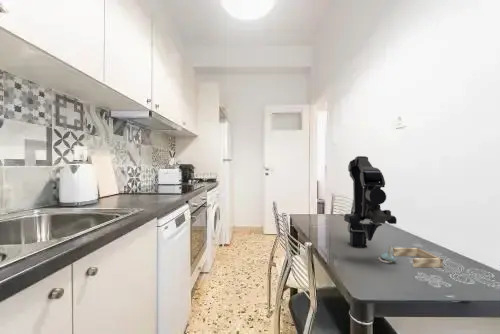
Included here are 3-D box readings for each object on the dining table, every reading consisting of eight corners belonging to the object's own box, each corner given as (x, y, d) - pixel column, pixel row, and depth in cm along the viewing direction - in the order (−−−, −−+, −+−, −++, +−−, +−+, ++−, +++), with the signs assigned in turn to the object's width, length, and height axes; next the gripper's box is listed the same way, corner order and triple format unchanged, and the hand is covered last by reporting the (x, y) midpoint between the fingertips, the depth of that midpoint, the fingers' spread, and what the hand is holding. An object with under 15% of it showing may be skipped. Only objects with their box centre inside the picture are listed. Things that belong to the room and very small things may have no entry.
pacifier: (381, 264, 108) (398, 264, 107) (381, 247, 108) (398, 248, 107) (376, 257, 115) (391, 258, 114) (375, 242, 115) (391, 243, 114)
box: (414, 267, 104) (414, 259, 104) (393, 255, 118) (393, 248, 118) (442, 267, 105) (442, 259, 105) (417, 255, 119) (418, 248, 119)
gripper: (356, 203, 102) (355, 246, 102) (405, 204, 103) (404, 246, 103) (344, 199, 113) (343, 238, 113) (388, 200, 114) (387, 238, 114)
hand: (369, 240), depth 111 cm, fingers closed
